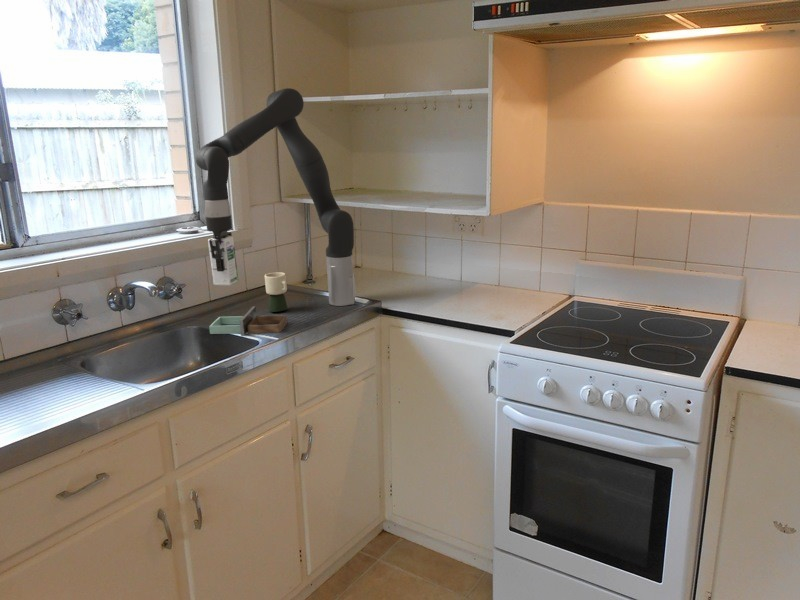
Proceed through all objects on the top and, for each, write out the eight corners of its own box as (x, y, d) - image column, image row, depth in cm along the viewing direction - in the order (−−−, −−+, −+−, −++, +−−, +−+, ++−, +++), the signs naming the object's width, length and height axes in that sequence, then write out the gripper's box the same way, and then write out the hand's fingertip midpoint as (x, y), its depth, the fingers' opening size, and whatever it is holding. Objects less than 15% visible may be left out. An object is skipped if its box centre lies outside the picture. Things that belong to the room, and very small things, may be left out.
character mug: (296, 311, 215) (293, 274, 212) (280, 316, 210) (277, 278, 207) (276, 306, 222) (273, 270, 219) (260, 311, 217) (256, 274, 213)
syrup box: (230, 285, 192) (225, 238, 188) (212, 285, 193) (207, 238, 189) (238, 280, 197) (233, 235, 193) (221, 280, 198) (216, 235, 194)
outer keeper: (250, 323, 203) (249, 316, 203) (241, 333, 194) (241, 325, 193) (220, 324, 204) (219, 316, 203) (210, 333, 194) (209, 326, 194)
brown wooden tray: (287, 322, 203) (286, 315, 202) (280, 332, 193) (279, 325, 193) (256, 323, 203) (255, 315, 203) (248, 333, 194) (247, 325, 193)
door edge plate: (257, 321, 206) (255, 306, 204) (244, 335, 191) (242, 320, 190) (254, 321, 206) (252, 306, 204) (241, 336, 191) (239, 320, 190)
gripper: (223, 217, 182) (229, 273, 187) (237, 210, 196) (242, 263, 200) (197, 218, 182) (204, 274, 187) (213, 211, 196) (219, 263, 201)
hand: (224, 268), depth 194 cm, fingers closed on syrup box, 6 cm apart
